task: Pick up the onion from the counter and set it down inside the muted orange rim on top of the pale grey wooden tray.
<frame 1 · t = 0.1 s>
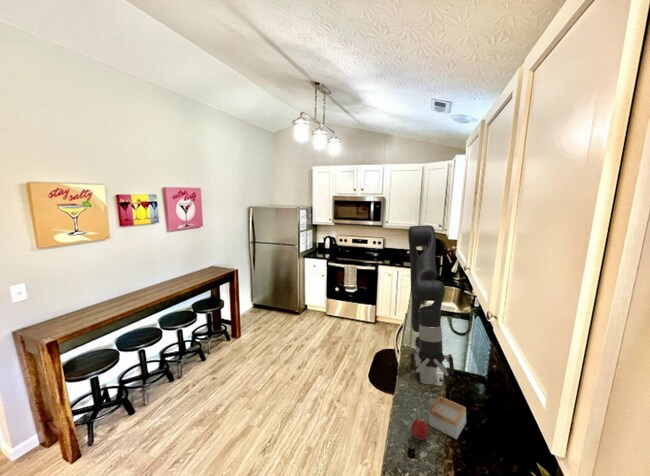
hand: (432, 383, 96), 22 cm above the counter, tool pointing down, fingers open, 8 cm apart
wooden tray: (447, 424, 106), on the counter
onion: (420, 439, 100), on the counter
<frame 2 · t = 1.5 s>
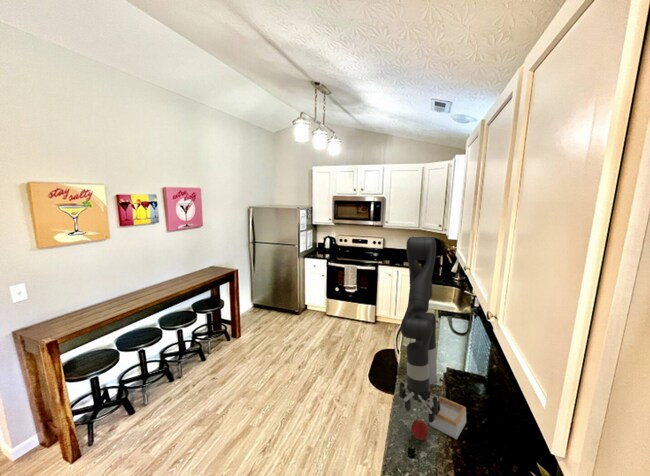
hand: (419, 415, 99), 10 cm above the counter, tool pointing down, fingers open, 8 cm apart
nothing on the counter moved.
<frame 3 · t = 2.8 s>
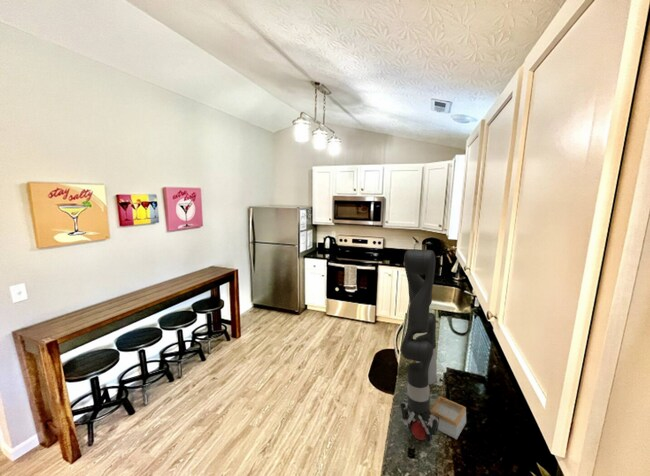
hand: (419, 435, 100), 1 cm above the counter, tool pointing down, fingers closed on onion, 6 cm apart
onion: (420, 439, 100), on the counter, touching gripper
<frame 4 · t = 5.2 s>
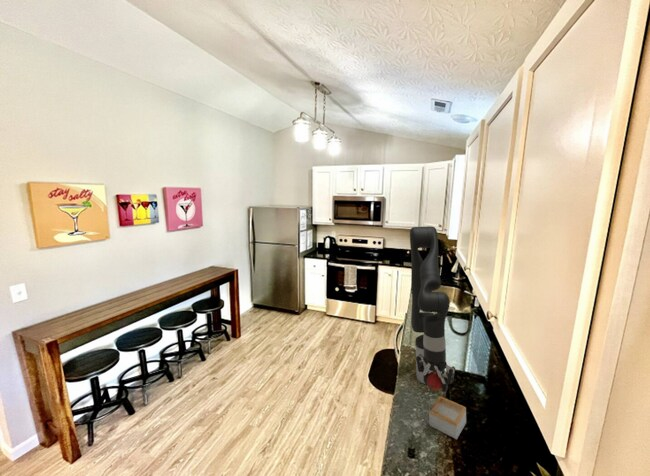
hand: (435, 387, 102), 17 cm above the counter, tool pointing down, fingers closed on onion, 6 cm apart
onion: (435, 390, 102), point 16 cm above the counter, touching gripper
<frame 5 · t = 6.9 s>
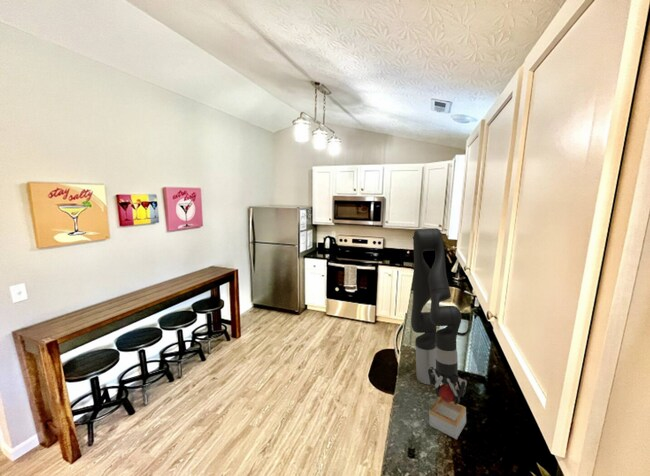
hand: (447, 399, 104), 10 cm above the counter, tool pointing down, fingers closed on onion, 6 cm apart
onion: (447, 402, 104), point 9 cm above the counter, touching gripper
when the fingers open (7 cm above the counter, at t = 8.0 s): onion drops 1 cm, resting on wooden tray.
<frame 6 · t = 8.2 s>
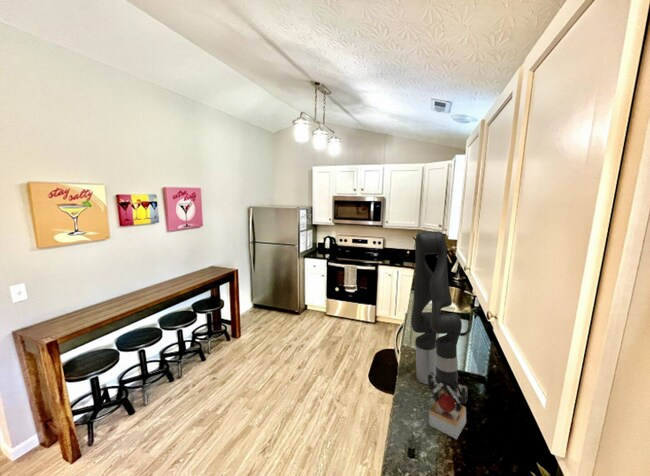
hand: (447, 405, 105), 8 cm above the counter, tool pointing down, fingers open, 7 cm apart
onion: (446, 412, 105), point 5 cm above the counter, touching wooden tray
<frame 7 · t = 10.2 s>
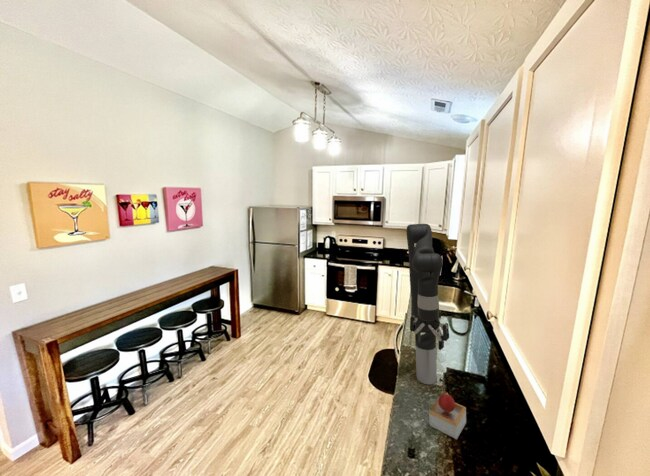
hand: (429, 345, 106), 31 cm above the counter, tool pointing down, fingers open, 8 cm apart
nothing on the counter moved.
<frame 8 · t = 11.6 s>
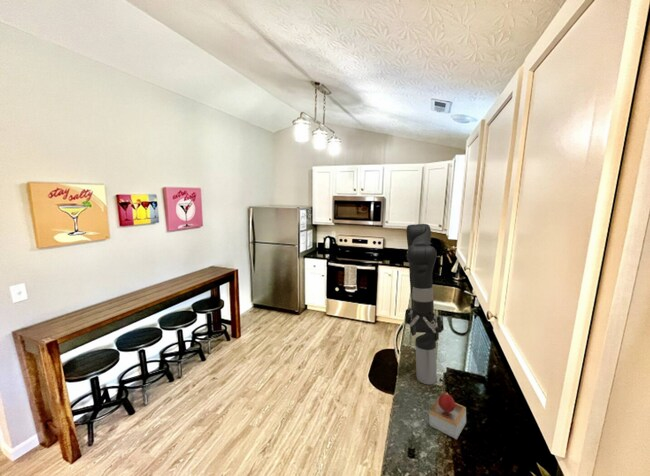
hand: (424, 337, 107), 33 cm above the counter, tool pointing down, fingers open, 8 cm apart
nothing on the counter moved.
at the end: onion 0.3 cm off-centre on the wooden tray, point 4.8 cm above the wooden tray's base; onion touching wooden tray; the gripper is holding nothing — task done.
